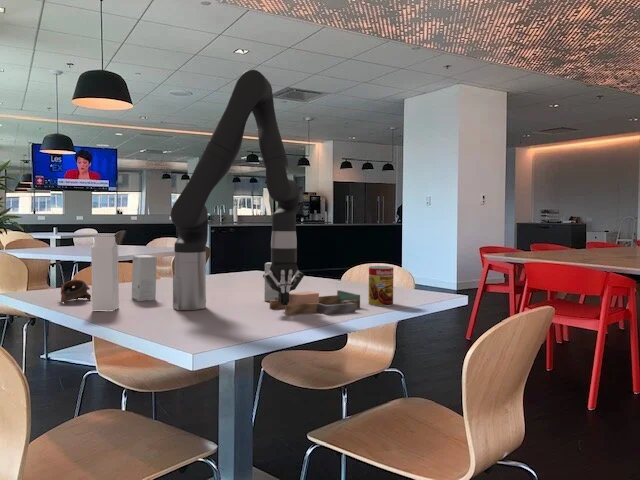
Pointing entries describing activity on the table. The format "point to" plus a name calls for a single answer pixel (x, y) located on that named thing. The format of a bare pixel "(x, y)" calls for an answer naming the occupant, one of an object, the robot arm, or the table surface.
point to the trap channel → (344, 298)
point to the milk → (105, 273)
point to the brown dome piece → (74, 290)
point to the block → (303, 298)
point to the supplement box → (269, 292)
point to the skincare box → (144, 277)
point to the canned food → (380, 285)
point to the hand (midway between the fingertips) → (283, 304)
